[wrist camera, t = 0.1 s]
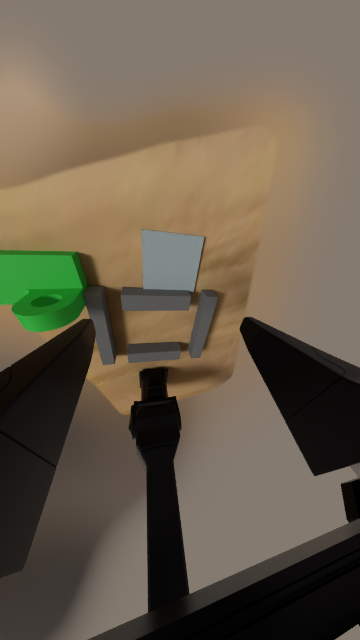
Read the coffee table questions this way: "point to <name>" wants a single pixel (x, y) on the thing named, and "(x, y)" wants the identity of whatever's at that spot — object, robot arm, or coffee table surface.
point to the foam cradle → (149, 301)
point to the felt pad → (170, 260)
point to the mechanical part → (42, 287)
